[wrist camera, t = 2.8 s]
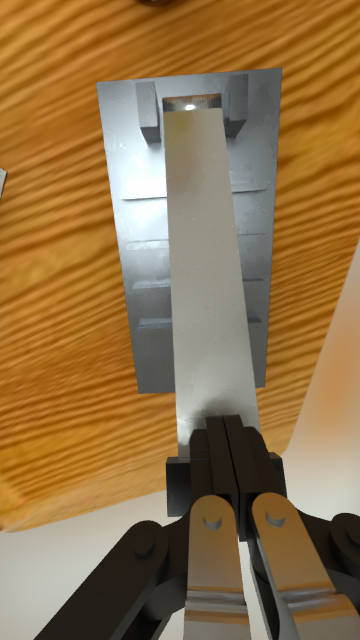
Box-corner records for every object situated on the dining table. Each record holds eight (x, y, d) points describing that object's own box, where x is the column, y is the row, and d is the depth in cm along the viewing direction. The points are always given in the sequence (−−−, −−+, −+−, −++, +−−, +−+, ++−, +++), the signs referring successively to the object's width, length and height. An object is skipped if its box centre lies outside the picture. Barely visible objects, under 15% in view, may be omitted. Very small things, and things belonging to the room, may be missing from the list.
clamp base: (273, 80, 22) (305, 32, 16) (259, 377, 32) (277, 411, 26) (103, 94, 22) (76, 50, 17) (141, 383, 32) (132, 418, 26)
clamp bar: (224, 110, 20) (229, 71, 17) (271, 490, 13) (289, 511, 11) (157, 115, 20) (152, 77, 17) (171, 494, 14) (167, 517, 11)
